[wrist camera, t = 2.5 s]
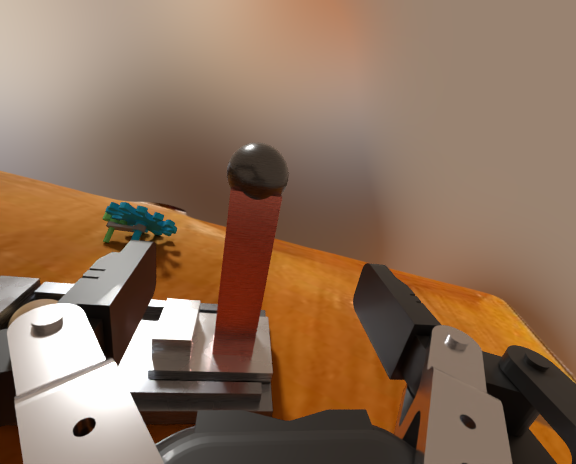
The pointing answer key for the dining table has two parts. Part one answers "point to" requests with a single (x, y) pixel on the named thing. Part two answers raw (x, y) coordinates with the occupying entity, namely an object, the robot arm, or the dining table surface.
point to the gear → (135, 221)
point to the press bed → (134, 365)
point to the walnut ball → (31, 307)
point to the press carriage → (230, 285)
